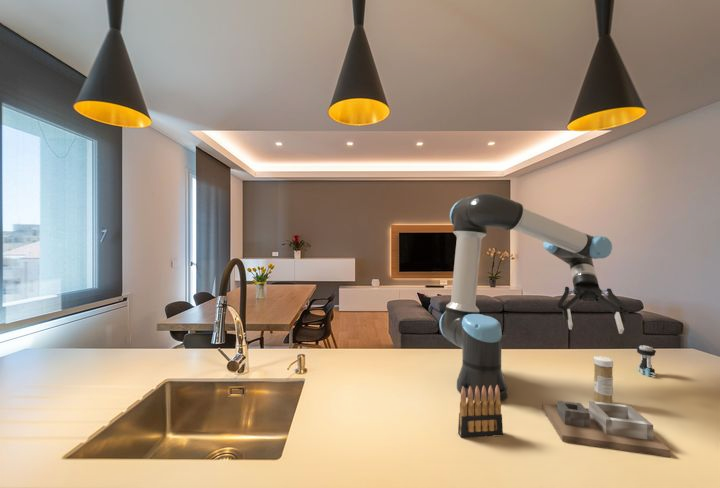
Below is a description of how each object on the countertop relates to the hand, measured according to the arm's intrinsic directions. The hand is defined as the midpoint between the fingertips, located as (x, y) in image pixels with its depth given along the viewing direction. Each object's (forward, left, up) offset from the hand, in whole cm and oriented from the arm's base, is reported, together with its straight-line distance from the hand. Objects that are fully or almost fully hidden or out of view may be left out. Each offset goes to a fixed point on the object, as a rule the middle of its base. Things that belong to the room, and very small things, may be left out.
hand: (595, 329), depth 103 cm
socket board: (-10, -27, -19) cm, 35 cm away
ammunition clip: (-39, -37, -20) cm, 57 cm away
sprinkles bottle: (-2, -11, -20) cm, 22 cm away
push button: (+24, +18, -20) cm, 36 cm away
